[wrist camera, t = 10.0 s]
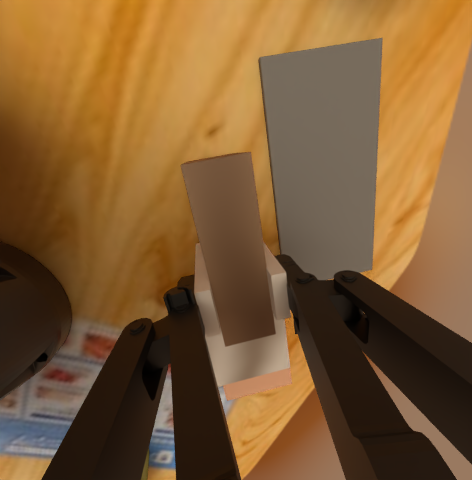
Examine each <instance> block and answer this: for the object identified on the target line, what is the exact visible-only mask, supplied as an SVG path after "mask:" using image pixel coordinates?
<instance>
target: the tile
mask: <svg viewBox="0 0 472 480" xmlns="http://www.w3.org/2000/svg"><path fill="white" fill-rule="evenodd" d="M290 384H292V379H291V371H290V368H287V369H283V370H280V371H276V372H272V373H268V374H264V375H261V376H257V377H253V378H249V379H246V380H242V381H238V382H234V383H231V384H227V385H223V387H224V391H225V394H226V398H227V401H228V400H232V399H236V398H240V397H243V396H247V395H251V394H255V393H259V392H263V391H267V390H270V389H274V388H278V387H282V386H286V385H290Z"/></svg>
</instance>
